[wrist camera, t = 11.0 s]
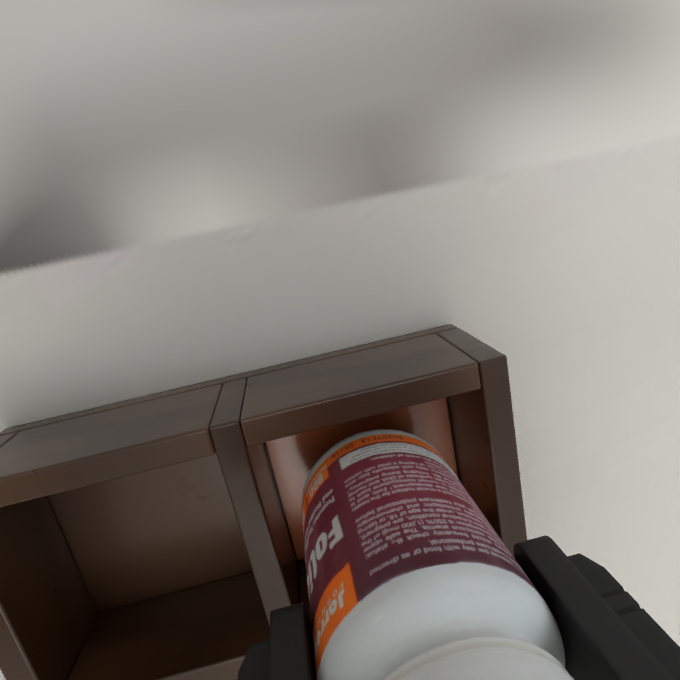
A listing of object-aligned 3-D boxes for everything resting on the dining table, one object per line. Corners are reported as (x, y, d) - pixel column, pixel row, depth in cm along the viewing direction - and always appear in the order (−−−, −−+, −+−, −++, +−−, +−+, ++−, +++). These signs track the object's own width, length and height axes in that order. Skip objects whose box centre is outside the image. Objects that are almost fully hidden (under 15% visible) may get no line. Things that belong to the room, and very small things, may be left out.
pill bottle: (288, 439, 14) (308, 753, 6) (445, 412, 14) (670, 665, 6) (310, 574, 15) (352, 988, 7) (453, 545, 15) (650, 901, 7)
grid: (149, 759, 19) (116, 896, 15) (4, 428, 15) (-90, 500, 11) (499, 656, 21) (552, 759, 17) (451, 323, 16) (507, 355, 13)
